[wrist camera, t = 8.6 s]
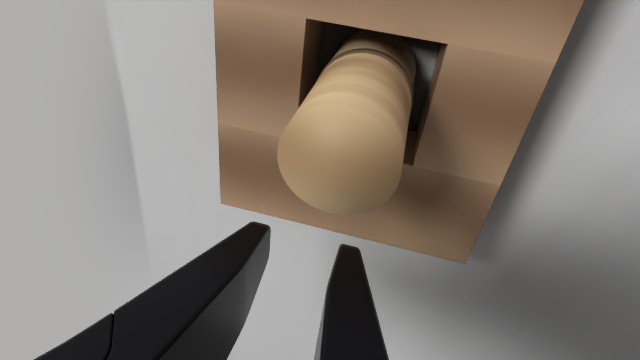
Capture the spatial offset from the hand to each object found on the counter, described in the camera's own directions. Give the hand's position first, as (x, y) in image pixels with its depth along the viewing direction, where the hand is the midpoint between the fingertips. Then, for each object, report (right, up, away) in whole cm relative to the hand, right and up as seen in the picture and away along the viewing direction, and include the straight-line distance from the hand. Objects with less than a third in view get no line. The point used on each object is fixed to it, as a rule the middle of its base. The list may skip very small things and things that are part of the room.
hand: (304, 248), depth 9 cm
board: (+3, +6, +9) cm, 12 cm away
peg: (+3, +6, +9) cm, 12 cm away
